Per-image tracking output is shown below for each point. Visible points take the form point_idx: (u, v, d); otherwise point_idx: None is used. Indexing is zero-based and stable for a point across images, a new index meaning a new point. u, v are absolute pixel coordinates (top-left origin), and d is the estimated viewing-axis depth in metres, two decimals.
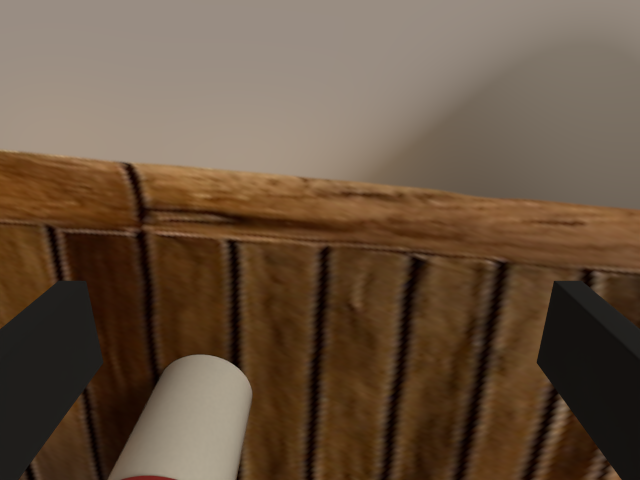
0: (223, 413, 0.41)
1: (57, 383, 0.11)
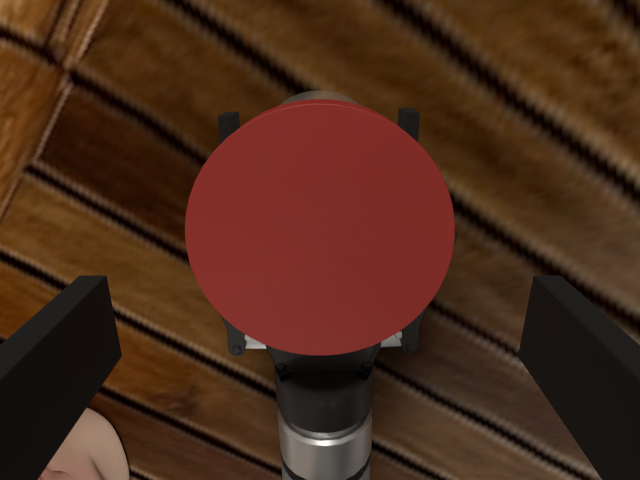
0: (301, 98, 0.27)
1: (81, 374, 0.11)
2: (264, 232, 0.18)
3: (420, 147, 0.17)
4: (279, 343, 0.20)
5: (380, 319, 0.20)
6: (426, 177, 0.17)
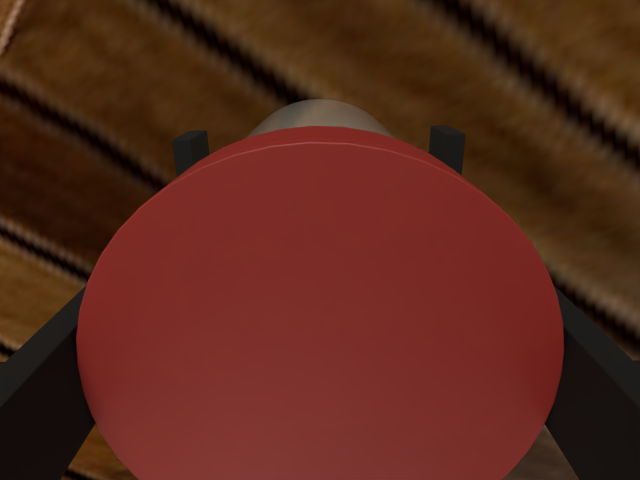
0: (293, 114, 0.18)
1: None
2: (220, 366, 0.10)
3: (512, 223, 0.09)
4: None
5: None
6: (519, 276, 0.09)
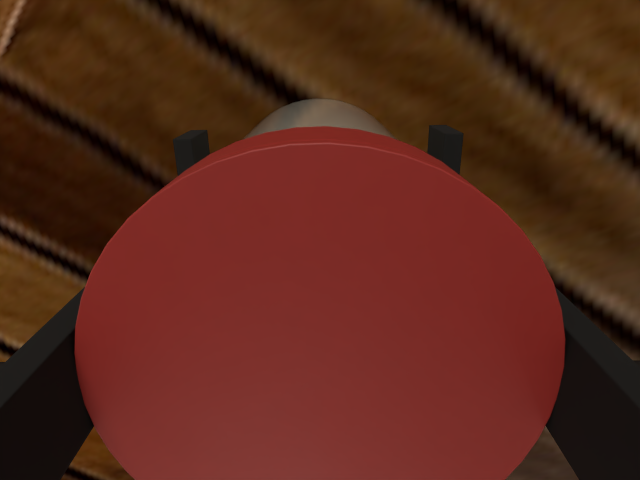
0: (293, 113, 0.19)
1: None
2: (282, 456, 0.11)
3: (159, 195, 0.09)
4: (495, 474, 0.11)
5: (510, 313, 0.10)
6: (220, 191, 0.09)
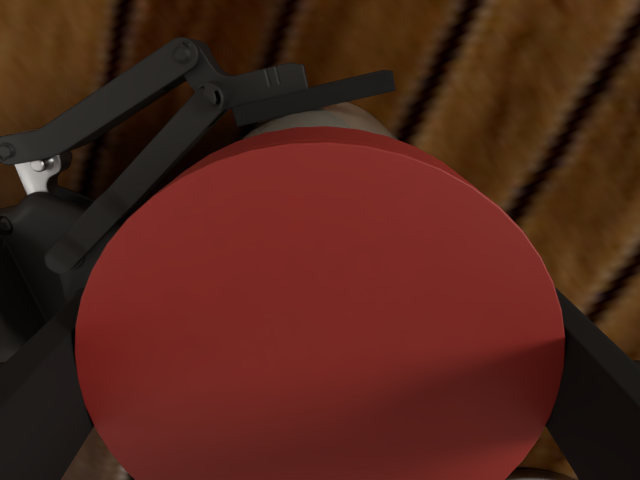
0: None
1: None
2: (282, 456, 0.11)
3: (159, 195, 0.09)
4: (495, 474, 0.11)
5: (509, 313, 0.10)
6: (220, 191, 0.09)
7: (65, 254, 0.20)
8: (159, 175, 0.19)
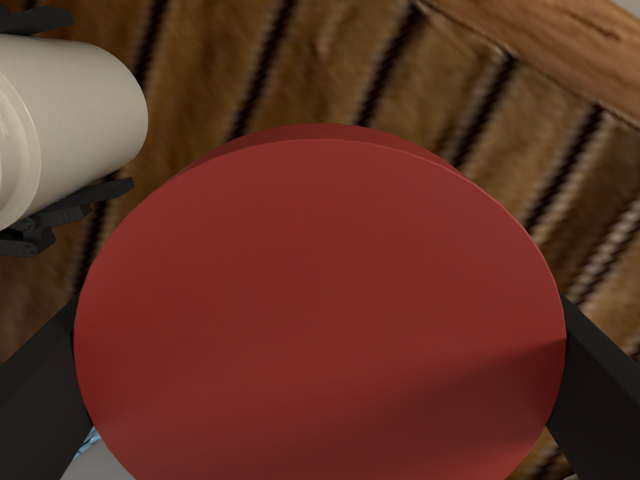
0: (98, 88, 0.29)
1: None
2: (282, 454, 0.11)
3: (158, 192, 0.09)
4: (495, 472, 0.11)
5: (510, 311, 0.10)
6: (219, 187, 0.09)
7: None
8: None
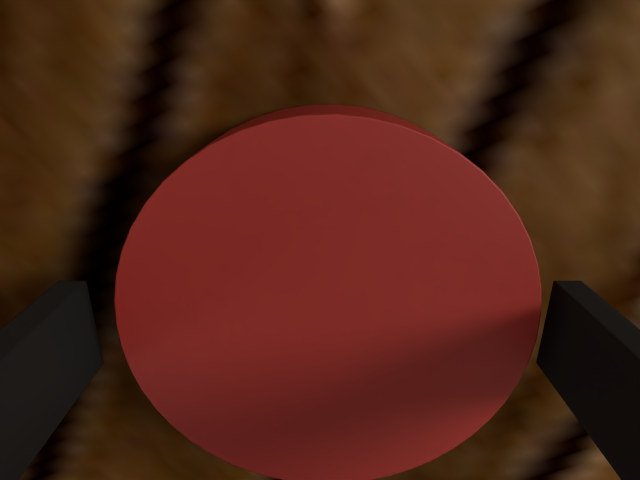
0: None
1: (58, 383, 0.11)
2: (293, 396, 0.13)
3: (190, 160, 0.10)
4: (481, 414, 0.13)
5: (492, 266, 0.11)
6: (243, 156, 0.10)
7: None
8: None
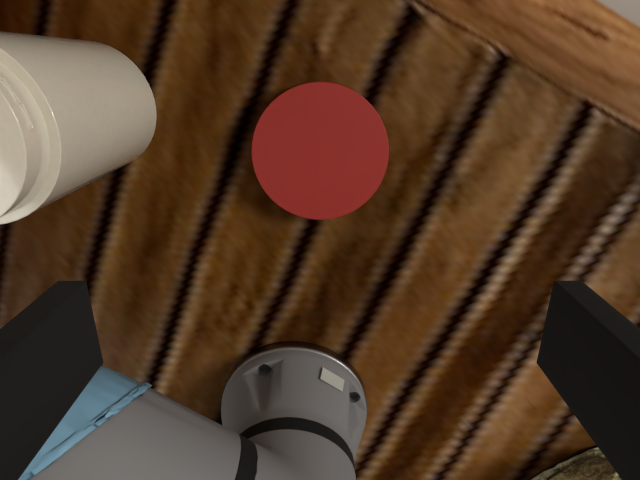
0: (111, 85, 0.30)
1: (57, 383, 0.11)
2: (309, 180, 0.37)
3: (279, 96, 0.35)
4: (373, 187, 0.37)
5: (371, 130, 0.36)
6: (295, 94, 0.35)
7: None
8: None
